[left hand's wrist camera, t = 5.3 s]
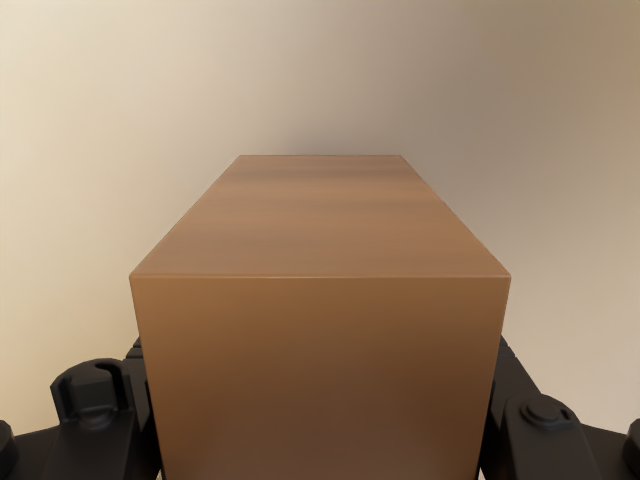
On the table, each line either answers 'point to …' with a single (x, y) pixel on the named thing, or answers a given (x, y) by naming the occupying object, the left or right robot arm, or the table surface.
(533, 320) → the table surface
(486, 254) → the bar
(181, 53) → the table surface
